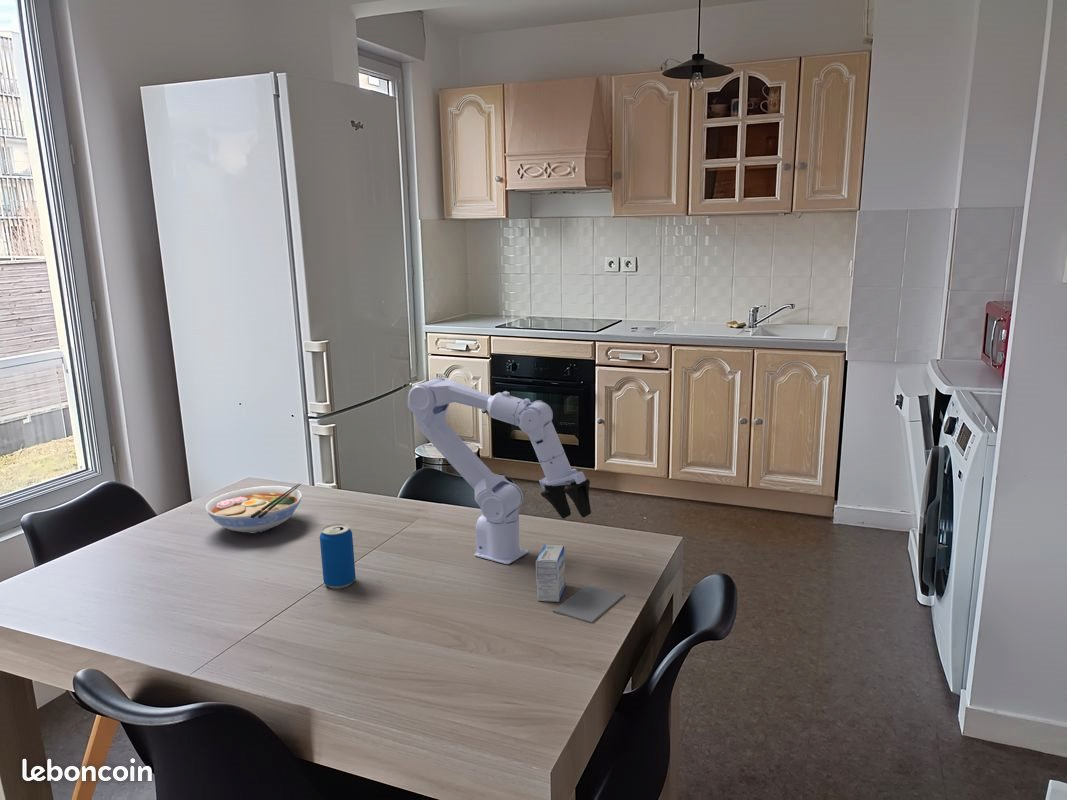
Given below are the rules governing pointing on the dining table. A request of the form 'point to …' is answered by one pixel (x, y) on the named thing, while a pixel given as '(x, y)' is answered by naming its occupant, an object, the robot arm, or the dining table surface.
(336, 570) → the beverage can
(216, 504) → the ramen bowl
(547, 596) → the medicine box
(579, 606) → the mat
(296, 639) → the dining table surface
